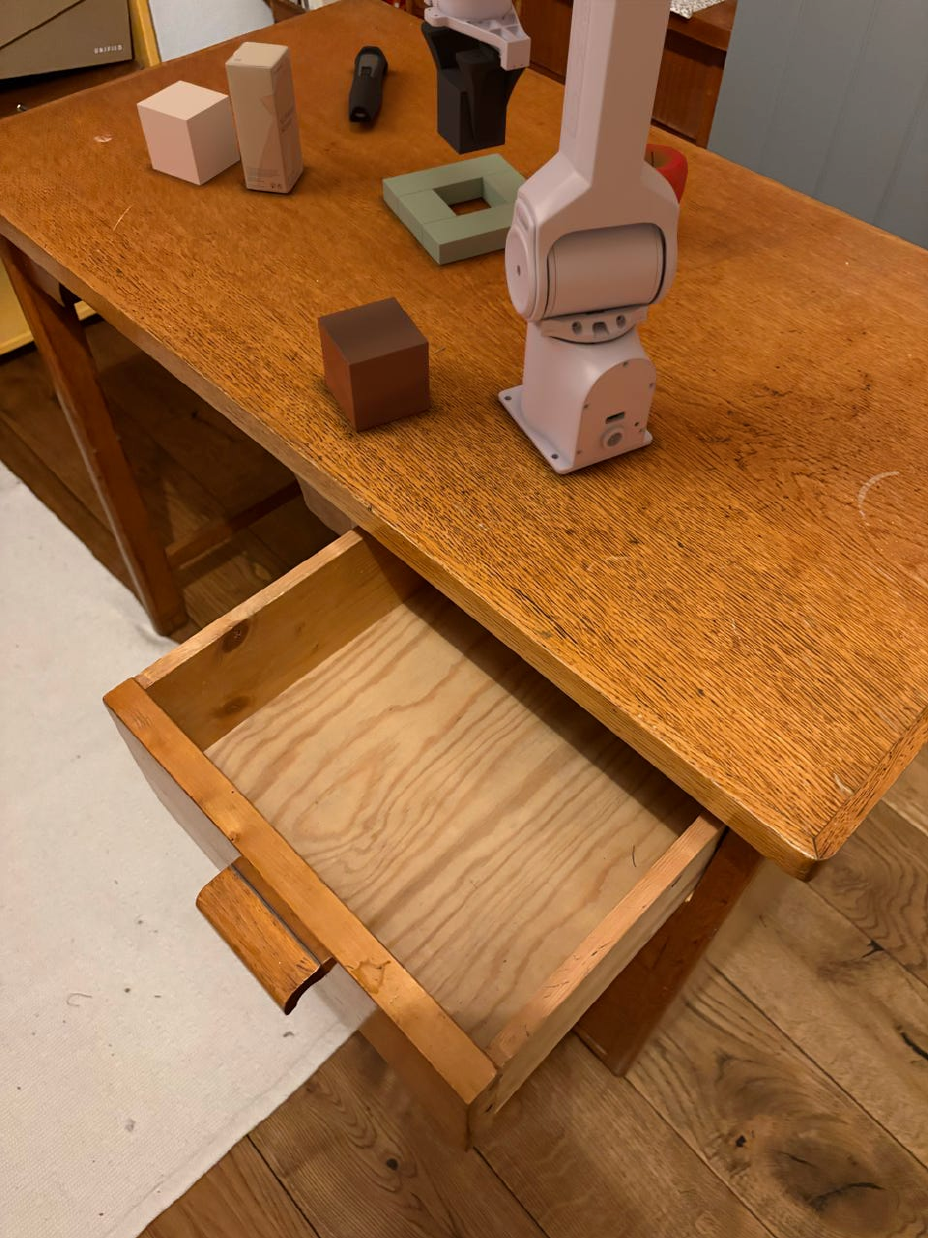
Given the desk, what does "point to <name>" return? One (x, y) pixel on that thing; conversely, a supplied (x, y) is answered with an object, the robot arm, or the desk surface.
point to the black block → (458, 114)
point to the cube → (375, 363)
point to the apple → (668, 166)
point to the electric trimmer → (366, 84)
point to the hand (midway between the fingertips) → (471, 127)
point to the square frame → (435, 188)
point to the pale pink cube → (189, 132)
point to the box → (265, 116)
